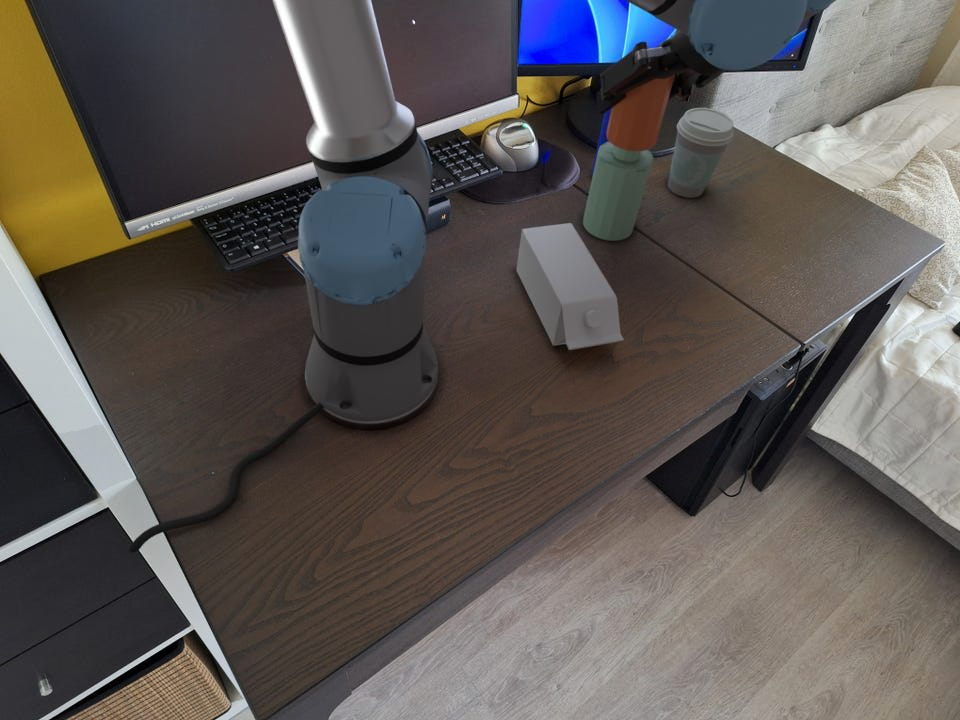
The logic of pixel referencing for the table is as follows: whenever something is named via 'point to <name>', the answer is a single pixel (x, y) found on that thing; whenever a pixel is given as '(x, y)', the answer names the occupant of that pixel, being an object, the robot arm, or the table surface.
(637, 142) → the cylinder
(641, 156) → the bottle
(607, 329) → the juice carton
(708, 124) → the coffee cup
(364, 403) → the robot arm
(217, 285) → the table surface
